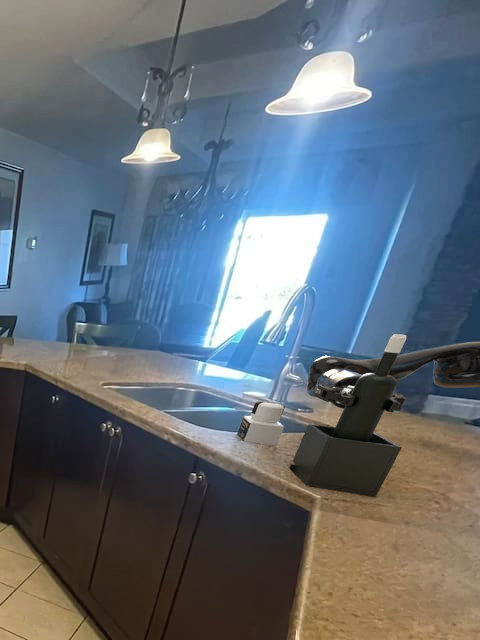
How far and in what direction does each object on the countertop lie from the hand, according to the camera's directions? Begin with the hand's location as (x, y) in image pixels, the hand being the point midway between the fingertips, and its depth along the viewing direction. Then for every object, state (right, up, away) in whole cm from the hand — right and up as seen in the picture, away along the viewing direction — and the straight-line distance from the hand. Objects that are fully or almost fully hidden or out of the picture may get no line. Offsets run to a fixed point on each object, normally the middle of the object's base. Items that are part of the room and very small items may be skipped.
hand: (371, 404), depth 99 cm
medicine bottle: (+2, -7, +31) cm, 32 cm away
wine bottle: (+1, -14, +9) cm, 17 cm away
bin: (+1, -16, +9) cm, 18 cm away
